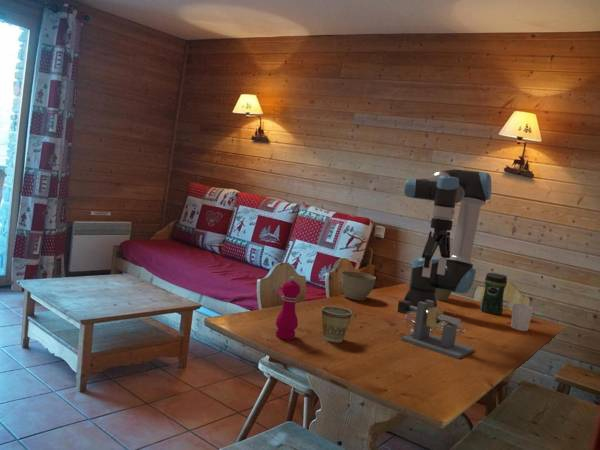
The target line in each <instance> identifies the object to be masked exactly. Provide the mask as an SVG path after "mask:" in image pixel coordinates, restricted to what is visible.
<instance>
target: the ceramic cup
mask: <svg viewBox="0 0 600 450" xmlns="http://www.w3.org/2000/svg"><path fill="white" fill-rule="evenodd" d="M353 314H354V317H353V318H352V315H353ZM351 318H352V319H351ZM356 318H357V313H356V312H355V311H351V309H348V308H344V307H342V306H335V305H328V306H327V305H325V306H322V308H321V319H322V338H323V340H325V341H327V342H330V343H342V342H343V340H344V339H345V335H346V331H347V328H348V326H350V325H351V323H353V322H354V321H355V320H356Z"/></svg>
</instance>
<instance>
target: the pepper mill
mask: <svg viewBox="0 0 600 450" xmlns="http://www.w3.org/2000/svg"><path fill="white" fill-rule="evenodd" d="M281 292H282V293H283V295H282V298H281V300H282V301H283V302H282V308H281V310H280V312H279V313H278V315H277V316H276V321H275V326H276V327H277V329H276V330H275V336H276V337H277V338H279V339H283V340H293V339H295V337H296V331H295V330H296V329H297V328H298V327H299V326H298V325H299V324H298V323H299V322H298V321H299V320H298V317H297V313H296V303H297V302H298V299H299V297H298V295H299V294H300V292H301V285H300V283H298V282H297V281H296V278H295V276H290V277H289V280H288V281H285V282H284V283H283V284H282V286H281Z"/></svg>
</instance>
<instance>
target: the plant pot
mask: <svg viewBox="0 0 600 450" xmlns="http://www.w3.org/2000/svg"><path fill="white" fill-rule="evenodd" d="M451 294H452V291H447V290H443V289H438V288H436V292H435V295H436V301H442V302H443V301H447V300H448V299H449V297H450V296H451Z"/></svg>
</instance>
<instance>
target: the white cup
mask: <svg viewBox="0 0 600 450" xmlns="http://www.w3.org/2000/svg"><path fill="white" fill-rule="evenodd" d="M511 310H512V311H511V318H510V319H511V322H510V323H511V324H510V327H511V328H512V329H514V330H517V331H522V332H527V331H528V330H529V326H530V324H531V320H532V314H533V311H534V307H533V306H532V305H528V304H524V303H520V302H518V303H517V302H514V303H513V304H512V309H511Z"/></svg>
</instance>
